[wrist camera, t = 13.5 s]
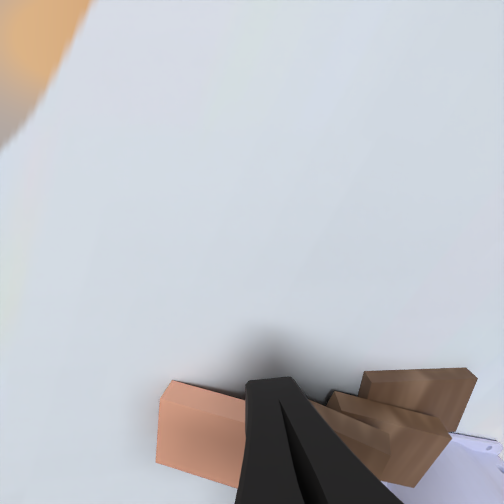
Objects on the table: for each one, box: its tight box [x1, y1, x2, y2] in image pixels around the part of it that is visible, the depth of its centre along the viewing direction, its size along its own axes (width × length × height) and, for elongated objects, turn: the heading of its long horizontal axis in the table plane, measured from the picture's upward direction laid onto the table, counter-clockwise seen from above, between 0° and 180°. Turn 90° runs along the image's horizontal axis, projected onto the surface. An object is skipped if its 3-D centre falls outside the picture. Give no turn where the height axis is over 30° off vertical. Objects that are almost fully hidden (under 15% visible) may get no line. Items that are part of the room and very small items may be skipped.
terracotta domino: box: [156, 380, 246, 489], centre depth 20 cm, size 2×5×8 cm
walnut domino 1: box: [309, 400, 391, 479], centre depth 20 cm, size 2×5×8 cm
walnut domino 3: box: [326, 391, 452, 488], centre depth 22 cm, size 2×5×8 cm
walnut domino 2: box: [358, 368, 478, 432], centre depth 24 cm, size 2×5×8 cm
